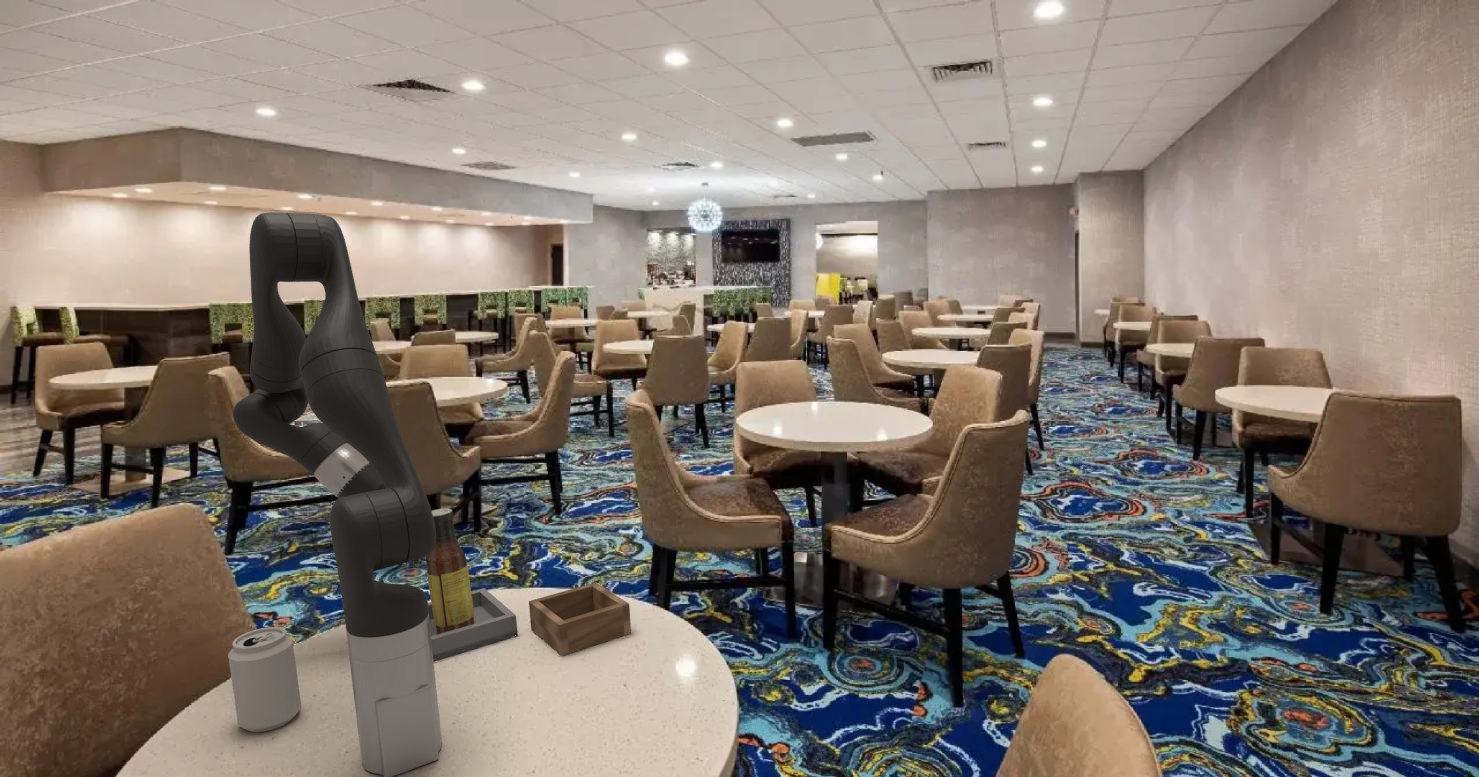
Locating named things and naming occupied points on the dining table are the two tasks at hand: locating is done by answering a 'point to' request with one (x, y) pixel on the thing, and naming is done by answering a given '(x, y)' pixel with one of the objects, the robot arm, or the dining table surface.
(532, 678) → the dining table surface
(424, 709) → the robot arm
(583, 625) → the bottle holder
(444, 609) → the sauce bottle
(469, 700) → the dining table surface
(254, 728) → the can
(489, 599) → the tray
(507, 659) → the dining table surface
